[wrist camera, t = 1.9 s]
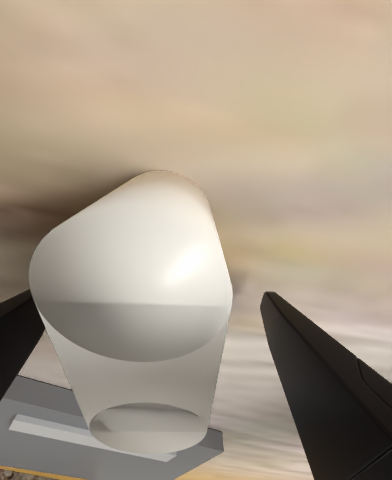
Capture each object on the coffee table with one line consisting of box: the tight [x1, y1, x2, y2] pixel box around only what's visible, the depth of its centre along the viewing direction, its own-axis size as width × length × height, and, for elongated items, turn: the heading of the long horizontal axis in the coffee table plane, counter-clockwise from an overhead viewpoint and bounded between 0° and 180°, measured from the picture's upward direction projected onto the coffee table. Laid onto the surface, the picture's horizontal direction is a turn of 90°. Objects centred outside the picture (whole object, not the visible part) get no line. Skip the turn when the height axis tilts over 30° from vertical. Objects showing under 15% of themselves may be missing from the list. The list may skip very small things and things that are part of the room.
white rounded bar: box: [29, 170, 233, 454], centre depth 8 cm, size 4×12×4 cm, turn 176°
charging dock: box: [0, 376, 224, 480], centre depth 16 cm, size 19×12×2 cm, turn 57°
